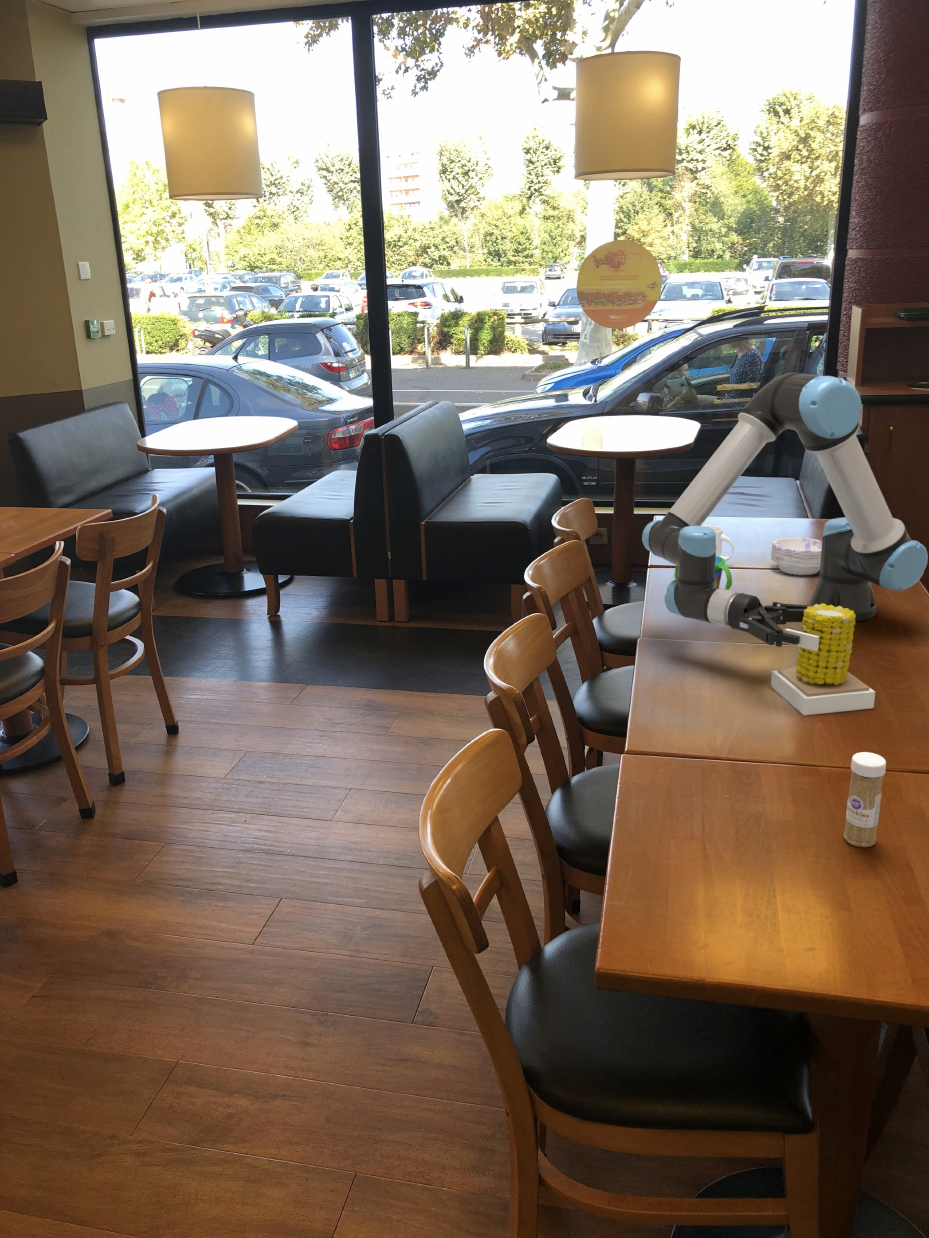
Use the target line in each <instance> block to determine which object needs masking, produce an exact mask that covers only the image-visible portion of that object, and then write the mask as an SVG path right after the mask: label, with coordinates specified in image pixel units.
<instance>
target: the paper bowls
mask: <svg viewBox="0 0 929 1238" xmlns="http://www.w3.org/2000/svg"><path fill="white" fill-rule="evenodd" d="M821 548H822V540H819V539H815V538H809V537H796V536H795V537H792V536H791V537H781V538H777V539H775V540H773V541H772V543H771V555H770V556H771V560H772V561H773V562H774V563H777V566H778V568H779V570H780V571H781V572H783V573H785V574H788V575H792V574H793V575H794V576H811V575H815V574H817V573H818V572H820V562H821Z"/></svg>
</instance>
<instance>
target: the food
mask: <svg viewBox="0 0 929 1238" xmlns="http://www.w3.org/2000/svg"><path fill="white" fill-rule="evenodd" d="M855 618H856V615H855V614H854V611H851V610H849V609H848V608H845V609H844V608H843V607H841V606H838V607H834V606H833V605H828V606H827V605H826V604H824V603H823V604H820V605H818V604H815V605H814V606H812V607H807V609H806V610H804V617H803V622H802V625H801V627H800V628H801V631H800V632H803V633H807V634H812V635H816V636H819V643H818V650H817V651H814V650H810V649H806V648H802V647H799V648H798V655H797V661H796V663H797V664H796V667H797V670H796V672H797V676H798V677H799V678H800V679H802V681H803V682H804V683H806V682H809V683H811V684H814V683H817V684H823V683H824V681H825V683H828V684H832V683H834V684H836V685H838V684H839V683H840V684H842V683H844V681H845V680H847V677H846V676H847V674H848V672H849V671H848V670H849V667H850V662H851V661H850V659H851V657H852V656H851V654H852V653H853V649H852V647H853V639H854V632H855V625H856V621H855Z"/></svg>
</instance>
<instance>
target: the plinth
mask: <svg viewBox="0 0 929 1238" xmlns="http://www.w3.org/2000/svg"><path fill="white" fill-rule="evenodd" d="M796 670H797V666H796V667H789V668H788V667H787V668H778V669H776V670H772V671H771V680H770V688H772V689H773V690H774V691H776V693H777V694H779V695H780V696H781V697H782V698H783V699H784V700H786V701H787V702H788V703H789V704H791V705H792V707H793V708H795V709H796V710H797V711H798V712H800V713H801V715H803V716H810V715H819V714H820V715H821V714H829V713H839V712H849V711H860V710H867V709H868V710H870V709H874V708H875V706H874V705H875V697H876V691H875V690H874V689H872V688H871V687H870V686H868V685H867V684H865V682H862V681H861V680H859V679H858V677H856V676H855V675H853V674H852V673H850V672H849V671H848V674H847V676H846V677H847V680H845V681H844V683H842V684H840V683H839V684H838V685H836V684H834V683H832V684H828V683H825V681H824V683H823V684H817V683H814V684H811V683H809V682H806V683H804V682H803V681H802V679H800V678H799V677H798V676H797V672H796Z"/></svg>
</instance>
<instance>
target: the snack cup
mask: <svg viewBox="0 0 929 1238" xmlns="http://www.w3.org/2000/svg"><path fill="white" fill-rule="evenodd" d="M725 562H726V561H725V560H724V559H723V558H722V557H719V556H716V557H715V570H714V587H716V588H720V583H721V581H722V574H723V573H722V572H723V571H724V573H725V577H726V583H725V587H724V589H726V590H731V588H732V585H733V576H732V572H731V570H730V567H729V566H728V565H727V564H726V563H725ZM673 577H674V580H676V579H678V566H677V565H675V568H674V574H673Z"/></svg>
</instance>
